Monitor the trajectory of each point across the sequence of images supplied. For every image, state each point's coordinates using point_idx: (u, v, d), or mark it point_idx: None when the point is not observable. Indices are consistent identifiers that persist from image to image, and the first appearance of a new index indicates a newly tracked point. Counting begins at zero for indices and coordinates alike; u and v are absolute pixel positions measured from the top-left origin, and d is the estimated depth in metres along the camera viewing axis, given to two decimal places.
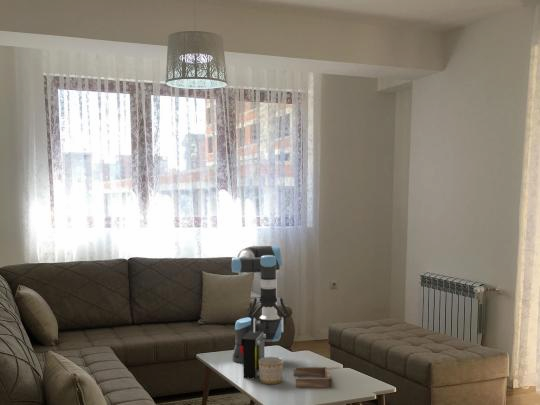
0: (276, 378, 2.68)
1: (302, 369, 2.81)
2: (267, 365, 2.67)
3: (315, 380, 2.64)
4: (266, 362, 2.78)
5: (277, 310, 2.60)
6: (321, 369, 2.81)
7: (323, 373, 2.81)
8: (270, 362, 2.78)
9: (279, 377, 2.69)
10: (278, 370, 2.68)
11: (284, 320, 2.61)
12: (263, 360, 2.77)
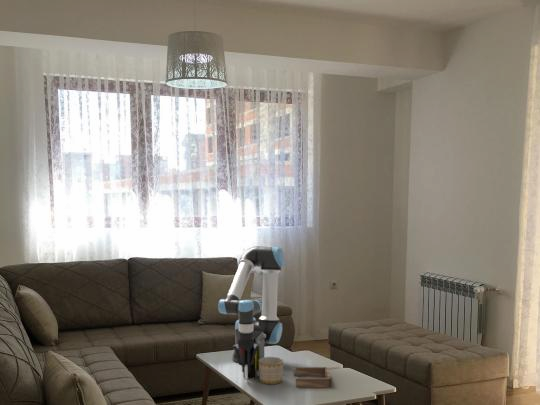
0: (276, 378, 2.68)
1: (302, 369, 2.81)
2: (267, 365, 2.67)
3: (315, 380, 2.64)
4: (266, 362, 2.78)
5: (247, 355, 2.71)
6: (321, 369, 2.81)
7: (323, 373, 2.81)
8: (270, 362, 2.78)
9: (279, 377, 2.69)
10: (278, 370, 2.68)
11: (248, 367, 2.71)
12: (263, 360, 2.77)
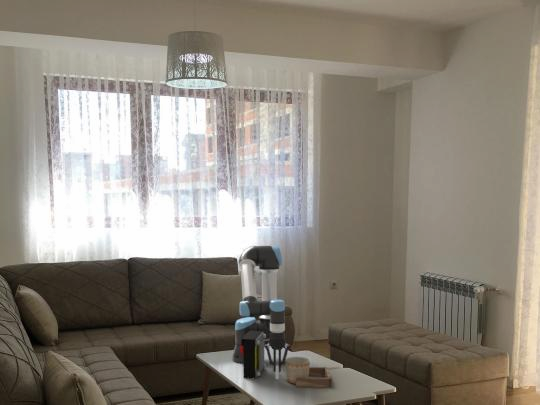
0: None
1: None
2: (295, 365, 2.67)
3: (315, 380, 2.64)
4: (292, 362, 2.77)
5: None
6: (321, 369, 2.81)
7: (323, 373, 2.81)
8: (296, 362, 2.78)
9: (306, 377, 2.69)
10: (306, 370, 2.69)
11: (279, 367, 2.71)
12: (289, 360, 2.77)
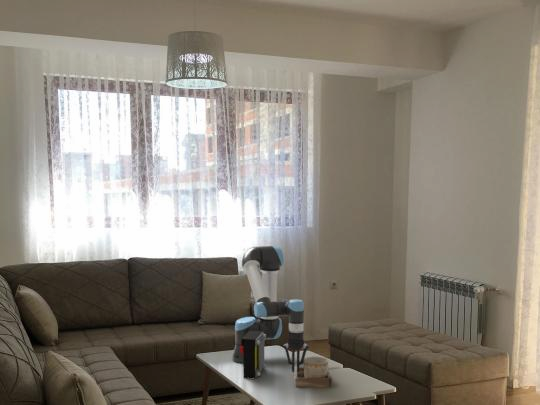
0: None
1: (302, 369, 2.81)
2: (314, 365, 2.67)
3: (315, 380, 2.64)
4: (309, 362, 2.78)
5: (297, 355, 2.71)
6: None
7: None
8: (313, 362, 2.78)
9: (325, 377, 2.70)
10: (324, 370, 2.69)
11: (298, 367, 2.71)
12: (307, 360, 2.77)
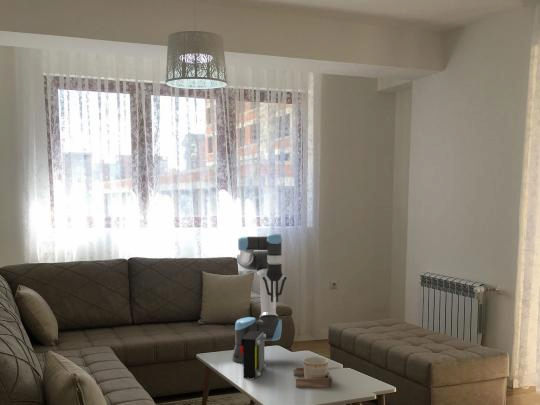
0: None
1: (302, 369, 2.81)
2: (313, 365, 2.67)
3: (315, 380, 2.64)
4: (309, 362, 2.78)
5: (276, 286, 2.83)
6: None
7: None
8: (313, 362, 2.78)
9: (325, 377, 2.70)
10: (324, 370, 2.69)
11: (277, 298, 2.83)
12: (307, 360, 2.77)
